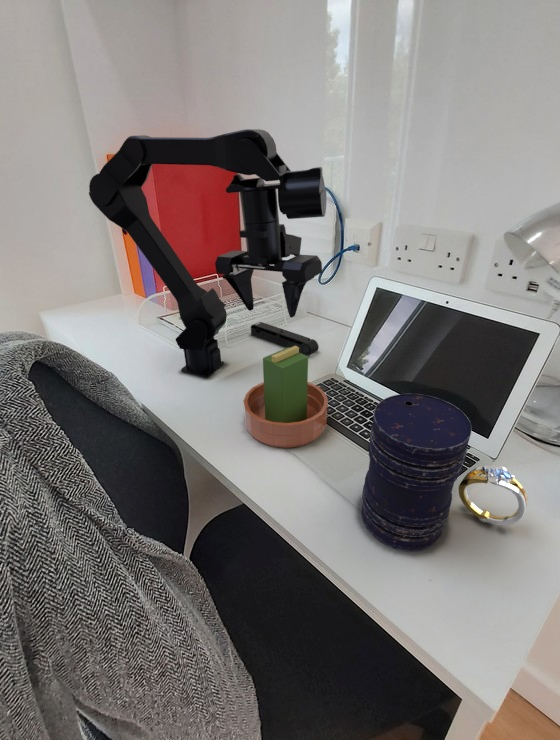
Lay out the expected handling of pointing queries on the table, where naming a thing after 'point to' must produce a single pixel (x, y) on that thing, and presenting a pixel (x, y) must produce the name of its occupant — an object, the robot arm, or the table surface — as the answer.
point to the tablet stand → (284, 338)
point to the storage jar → (413, 469)
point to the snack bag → (285, 386)
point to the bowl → (285, 432)
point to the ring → (496, 477)
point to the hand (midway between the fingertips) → (271, 313)
